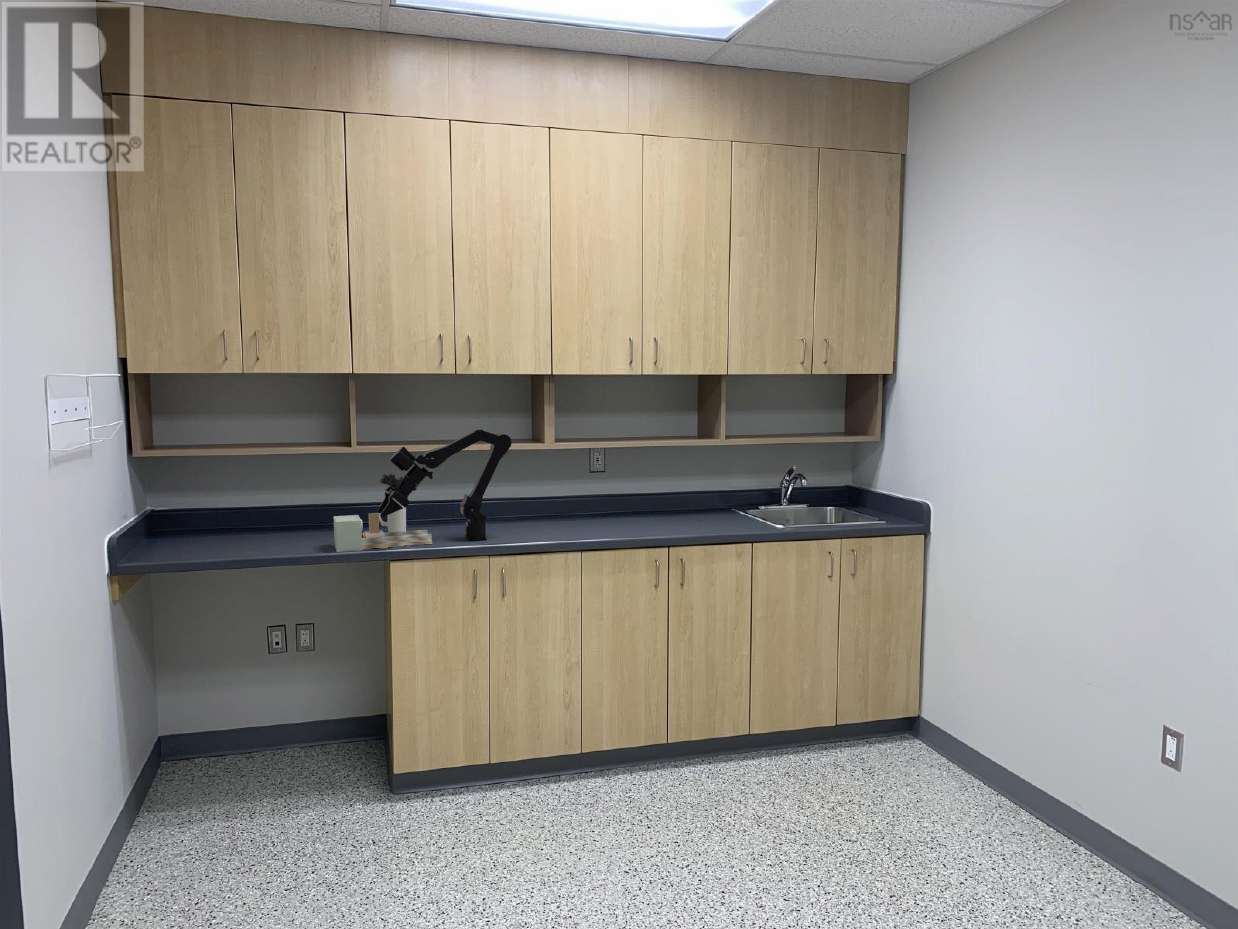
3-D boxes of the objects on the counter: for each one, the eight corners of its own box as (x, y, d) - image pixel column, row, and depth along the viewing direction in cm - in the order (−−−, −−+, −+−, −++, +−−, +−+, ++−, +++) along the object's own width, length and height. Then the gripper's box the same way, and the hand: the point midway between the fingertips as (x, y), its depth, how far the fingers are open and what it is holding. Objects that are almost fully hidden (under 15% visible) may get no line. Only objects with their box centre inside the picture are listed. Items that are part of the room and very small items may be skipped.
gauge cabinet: (360, 543, 286) (359, 514, 285) (363, 550, 275) (362, 520, 274) (334, 545, 283) (333, 516, 282) (336, 552, 272) (335, 522, 271)
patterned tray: (427, 539, 294) (427, 529, 293) (432, 544, 284) (432, 534, 284) (359, 544, 285) (359, 534, 285) (362, 549, 276) (361, 539, 276)
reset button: (364, 540, 283) (364, 532, 283) (365, 543, 279) (365, 535, 278) (346, 541, 281) (346, 534, 281) (347, 544, 276) (347, 536, 276)
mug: (407, 531, 309) (406, 499, 308) (406, 534, 302) (405, 501, 301) (379, 532, 307) (378, 500, 306) (377, 535, 300) (376, 502, 299)
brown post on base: (382, 539, 286) (381, 512, 285) (384, 542, 280) (383, 514, 279) (364, 540, 284) (363, 513, 283) (366, 543, 278) (365, 515, 277)
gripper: (390, 462, 291) (358, 495, 288) (397, 467, 273) (363, 502, 270) (414, 483, 294) (383, 516, 291) (422, 489, 277) (389, 525, 274)
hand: (379, 514), depth 282 cm, fingers open, 9 cm apart
